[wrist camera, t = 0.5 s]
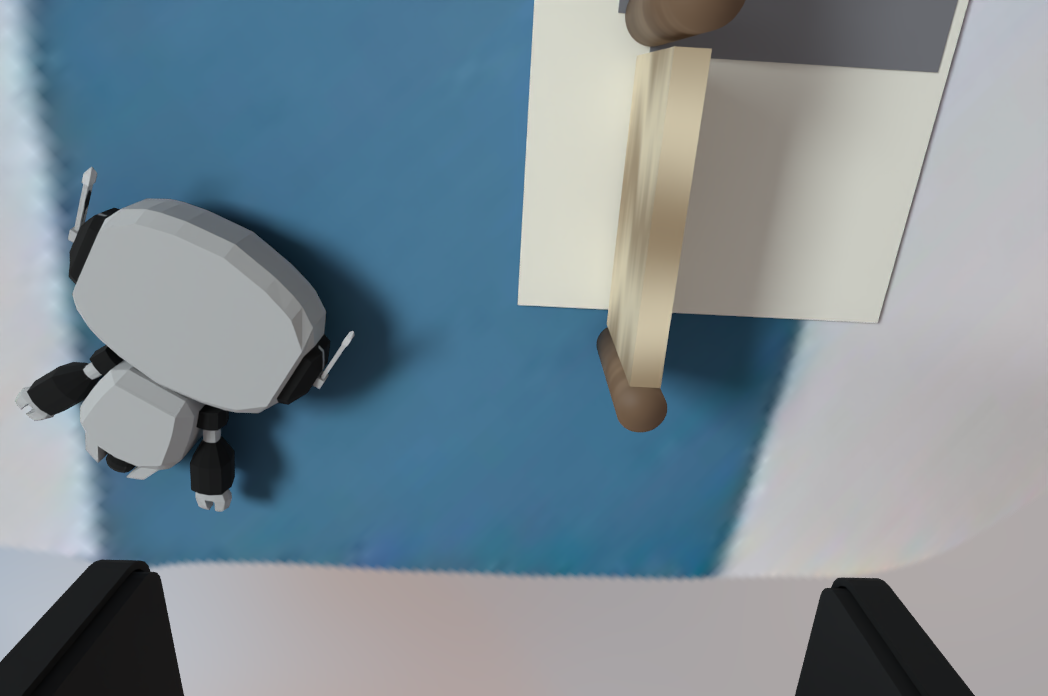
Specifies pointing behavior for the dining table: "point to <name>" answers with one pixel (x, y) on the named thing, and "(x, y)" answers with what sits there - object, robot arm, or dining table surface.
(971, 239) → the dining table surface
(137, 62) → the dining table surface
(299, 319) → the robot toy
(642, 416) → the fence swing section
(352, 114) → the dining table surface
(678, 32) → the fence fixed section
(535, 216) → the card
